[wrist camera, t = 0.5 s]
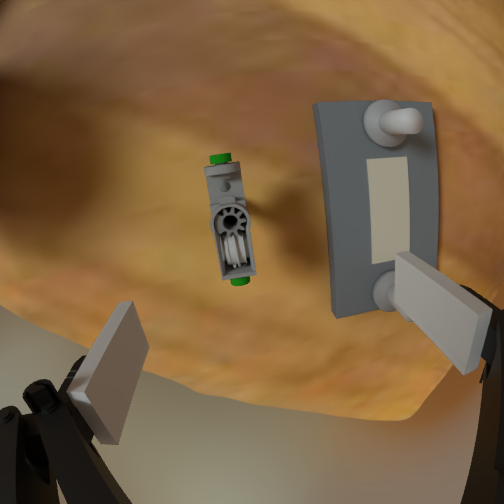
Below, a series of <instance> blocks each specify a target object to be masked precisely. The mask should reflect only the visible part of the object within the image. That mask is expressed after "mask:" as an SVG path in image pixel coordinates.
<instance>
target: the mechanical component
mask: <svg viewBox="0 0 504 504" xmlns="http://www.w3.org/2000/svg"><path fill="white" fill-rule="evenodd" d="M230 161H232V159H231V153H224V154H218V155H212V156H210V163H211V164H215V165H212V166H206V167H204V171H205V176H206V179H207V186H208V192H209V197H210V203H211V204H210V208H211V214H212V216H211V220H210V226H211V230H212V232H213V234H214V237H215V243H216V248H217V254H218V259H219V264H220V270H221V275H222V280H227V279H230V280H231V284H232V285H233V286H242V285H246V284H248V283H249V282H250V276H253V275H256V268H255V261H254V254H253V247H252V241H251V234H250V226H251V220H250V216H249V213H248V210H247V207H246V202H245V197H244V191H243V184H242V177H241V169H240V162H239V161H237V162H231V163H227V162H230Z"/></svg>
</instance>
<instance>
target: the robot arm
mask: <svg viewBox="0 0 504 504" xmlns="http://www.w3.org/2000/svg"><path fill="white" fill-rule="evenodd" d="M394 302H395V303H396V304H397V305H398V306H399V307H400V308H401V309H402V310H403V311H404V312H405V313H406V314H407V315H408V316H409V317H410V318H411V319H412V320H413V321H414V322H415V323H416V324H417V325H418V327H419V328H420V329H421V330H422V331H423V332H424V333H425V334H426V335H427V336H428V337H429V338H430V339H431V340H432V341H433V342H434V343H435V345H436V346H437V347H438V348H439V349H440V350H441V351H442V352H443V353H444V354H445V355H446V357H447V358H448V359H449V360H450V361H451V362H452V363H453V364H454V365H455V366H456V368H457V369H458V370H459V371H460V372H461V373H462V374H463V375H465V374H468V373H470V372H472V371H474V370H476V369H477V368H478V365H479V361H480V358H481V357H482V358H483V359H484V360H485V361H486V364H485V367H484V370H483V373H482V376H481V379H480V382H479V383H482V380H483V389H482V399H481V408H480V416H479V423H478V430H477V436H476V442H475V447H474V452H473V457H472V462H471V466H470V470H469V475H468V479H467V483H466V486H465V490H464V494H463V497H462V501H461V504H504V309H503V310H500V309H499V308H498V307H496V306H495V305H493V304H492V303H491V302H489V301H488V300H487V299H485V298H483V297H482V296H481V295H479V294H477V292H475V291H474V290H472V289H471V288H469V287H466V286H463V285H458V284H457V283H455V282H454V281H452V280H451V279H450V278H448V277H447V276H445V275H444V274H442V273H441V272H439V271H438V270H436V269H435V268H433V267H432V266H430V265H429V264H427V263H426V262H424V261H423V260H421V259H420V258H418V257H417V256H415V255H414V254H412V253H410V252H409V251H404V252H399V253H395V292H394ZM148 349H149V344H148V342H147V339H146V337H145V334H144V331H143V328H142V326H141V323H140V320H139V317H138V314H137V312H136V309H135V306H134V303H133V301H127V302H120V303H119V304H118V305H117V307H116V308H115V310H114V311H113V313H112V315H111V316H110V318H109V319H108V321H107V323H106V324H105V326H104V327H103V329H102V331H101V332H100V334H99V336H98V337H97V339H96V341H95V342H94V344H93V346H92V347H91V349H90V351H89V352H88V354H87V355H85V356H82V357H81V358H80V359H79V360H77V361H76V362H75V363H74V365H73V367H72V368H71V370H70V372H69V374H68V375H67V378H66V379H65V380H64V382H63V384H62V385H61V387H60V389H59V391H58V392H57V390H56V389H55V387H54V385H53V384H52V382H51V381H50V380H47V379H42V380H38V381H35V382H33V383H32V384H30V385H29V386H28V387H27V388H26V389H25V391H24V393H23V399H24V401H25V402H26V403H27V405H28V406H29V408H30V409H31V411H32V412H33V413H31V414H25V415H22V414H21V412H20V411H19V410H18V408H17V407H15V406H8V407H5V408H3V409H1V410H0V504H60V502H59V496H58V489H57V482H56V479H57V481H58V484H59V486H60V488H61V491H62V493H63V495H64V497H65V499H66V502H67V504H132V503H131V501H130V500H129V499H128V497H127V496H126V494H125V493H124V492H123V490H122V489H121V487H120V486H119V485H118V483H117V482H116V480H115V478H114V477H113V475H112V474H111V473H110V471H109V469H108V468H107V466H106V464H105V463H104V461H103V460H102V458H101V456H100V455H99V453H98V451H97V450H96V448H95V446H94V445H93V444H92V442H91V441H92V438H93V435H95V437H96V438H97V439H98V441H99V442H100V443H101V444H110V445H111V444H112V445H118V444H119V440H120V437H121V433H122V430H123V427H124V423H125V420H126V417H127V413H128V410H129V407H130V404H131V401H132V397H133V394H134V391H135V388H136V385H137V382H138V379H139V376H140V373H141V370H142V367H143V364H144V361H145V358H146V355H147V352H148Z"/></svg>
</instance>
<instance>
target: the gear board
mask: <svg viewBox="0 0 504 504" xmlns="http://www.w3.org/2000/svg"><path fill="white" fill-rule="evenodd" d="M313 111H314V118H315V125H316V132H317V140H318V147H319V155H320V164H321V172H322V182H323V191H324V201H325V212H326V223H327V236H328V250H329V265H330V284H331V307H332V312H333V314H334V315H335V317H336V319H338V318H342V317H347V316H351V315H356V314H360V313H365V312H369V311H373V310H377V309H381V310H383V311H386V312H392V311H395V310H397V311H398V312H399V313H400V314H401V315H402V316H403V317H404V319H405V320H406V321H408V322H414V321H413V320H412V319H411V318H410V317H409V316H408V315H407V314H406V313H405V312H404V311H403V310H402V309H401V308H400V307H399V306H398V305H397V304H396V303H395V302H394V292H395V253H399V252H404V251H409V252H410V253H412V254H414V255H415V256H417V257H418V258H420V259H421V260H423V261H424V262H426V263H427V264H429V265H430V266H432V267H433V268H435V269H436V266H437V251H438V226H439V189H438V164H437V149H436V138H435V128H434V119H433V111H432V103H431V102H412V101H391V100H386V99H385V100H379V101H337V102H318V103H316V104H314V105H313Z"/></svg>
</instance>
